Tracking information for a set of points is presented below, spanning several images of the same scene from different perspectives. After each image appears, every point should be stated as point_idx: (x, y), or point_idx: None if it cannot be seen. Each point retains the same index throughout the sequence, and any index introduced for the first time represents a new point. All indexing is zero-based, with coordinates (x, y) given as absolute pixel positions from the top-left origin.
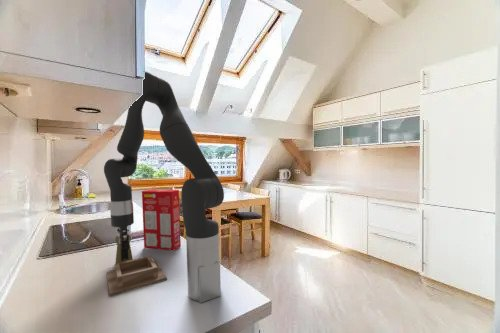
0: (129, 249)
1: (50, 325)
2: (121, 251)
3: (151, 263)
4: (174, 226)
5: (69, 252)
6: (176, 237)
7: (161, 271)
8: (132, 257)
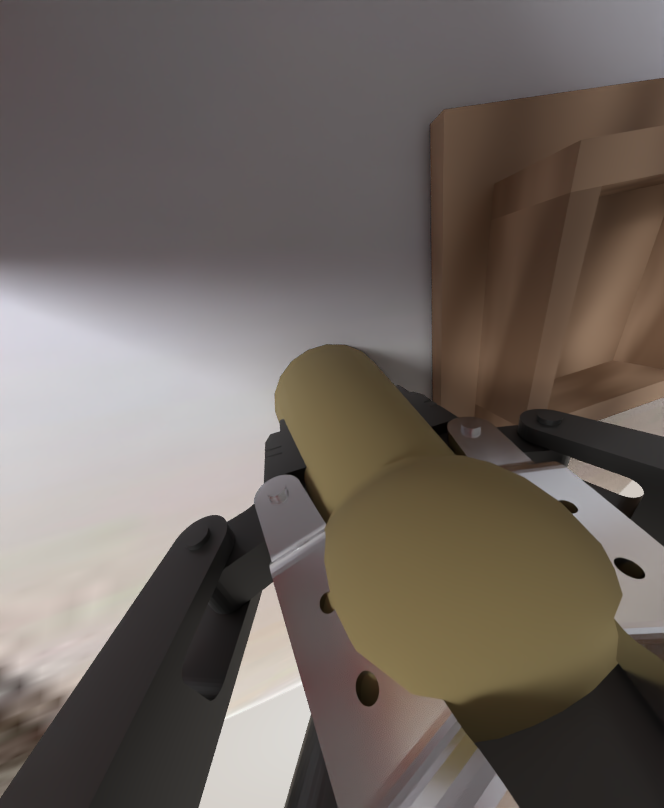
0: (407, 405)
1: (624, 482)
2: None
3: None
4: None
5: (43, 711)
6: None
7: None
8: (336, 356)
